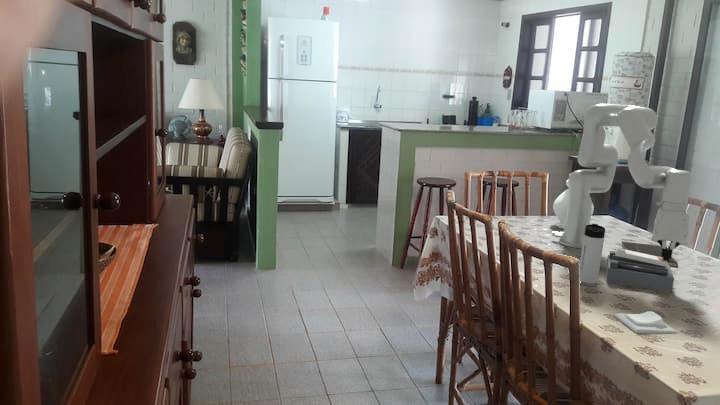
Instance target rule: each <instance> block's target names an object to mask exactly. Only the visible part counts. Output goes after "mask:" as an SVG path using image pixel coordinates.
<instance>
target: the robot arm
mask: <svg viewBox="0 0 720 405" xmlns="http://www.w3.org/2000/svg"><path fill="white" fill-rule="evenodd" d="M583 118H584V119H583V132H582V137H581V140H580V146H579V149H578V155H577V162H578V164H579V166H581V167H584V168H596V169H577V170H574V171H573V172H571V175H570V176H569V175H568V179H569V180H568V179H567V180H568V184H569V187H568V189H569V199H568V207H567V215H566V222H565V229H563V231H560V232H559V231H553V230H552V237H555V238H559V239H558V243H559V244H561V245H563V246H566V247H568V248H575V249H582V246H583V240H584V234H585V227H586V225H591V218H592V216H591V213H592V204H593V201H592V198H591V196H590V194H595V193H596V194H597V193H598V194H600V193H602V194H603V193H606V192H608V191H609V190H610V189H611V187H612V185H613V181H614V178H615V174H616V170H617V166H618V162H619V153H618V152H619V151H618V149H617V148H616V147H615V146H614V145H612V144H608V143H607V144H606V143H605V140H606V129H605V128H604V127H615V128H616V127H617V128H618V127H619V128H620V130H621V133H622V134H623V137H624V139H625V141H626V142H627V145H628V146H629V149H630V150H629V152H628V156H627V168H628V170H629V173H630V175H631V177H632V180H634V182H635V183H636V184H637V185H638V186H639V187H641V188H643V189H663V191H662V200H660V201H656V206H657V207H660V208H658V210H657V213H656V216H655V218H654V219H655V220H654V222H653V226H652V235H651V237H650V241H652V242H654V243H657V244H658V245H659V246H661V247H662V252H661V257H663V260H667V261H669V258H671V257H672V256H673V252H674V249H676V248H677V247H679V246H686V245H687V244H688V243H687V241H688V236H689V228H690V227H689V226H690V213H689V212H687V210H688V204H689V202H688V201H689V195H690V190H691V184H692V183H691V182H692V178H693V177H692V176H693V175H692V173H691V172H690V171H688V170H683V169H676V168H673V167H671V166H664V165H662V166H658V165H655V166H653V165H651V166H650V165H648V163H647V161H646V160H645V157H644V154H643V153H644V152H646V151H647V150H649V149H651V148H652V147H653V146H654V145H655V143H656V138H655V136H654V134H653V132H652V130H654V129H655V128H656V127H657V125H658V123H659V122H658V121H659V120H658V119H659V117H658V115H657V113H656V111H655V110H653V108H649V107H645V106H644V107H642V106H636V105H631V104H616V103H615V104H614V103H598V104H593V105H591V106H590V107H588V109H587V110H586V112H585V115H584V117H583ZM667 242H669V246H668V247H667ZM672 258H673V257H672Z"/></svg>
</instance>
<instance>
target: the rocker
mask: <svg viewBox="0 0 720 405" xmlns="http://www.w3.org/2000/svg"><path fill="white" fill-rule="evenodd" d="M614 252H615V254H616V256H620V257H624V258H629V259H633V260H638V261H642V262H647V263H651V264H656V265H660V266H665V267H666V266H667V263H668V262H667V260H663V257H659V256H653V255H648V254H644V253H639V252H635V251H630V250H625V249H624V248H623V247H619V246H618V247H616V248H615V250H614Z"/></svg>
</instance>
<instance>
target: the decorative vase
mask: <svg viewBox="0 0 720 405" xmlns="http://www.w3.org/2000/svg"><path fill="white" fill-rule="evenodd" d="M571 173H572V172H571ZM571 173H568V174H569V175H568V177H569V176H570V175H571ZM568 180H569V178H568V179H567V180H566V181H565V185H566V186H567V187H568V188H567V189H565V190H564V191H563V192H561V194H559V195H558V196H557V198H556V199H555V200H554V202H553V206H552V209H553V212H554V214H555V216H556V217H557V219H558V220H559V222H557V223H556V227H558V228H560V229H563V230H564V229H565V222H566V215H567V207H568V199H569V184H568ZM594 210H595V209H594V203H592V213H591V217H592V216H593V215H594Z"/></svg>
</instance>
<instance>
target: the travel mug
mask: <svg viewBox="0 0 720 405" xmlns="http://www.w3.org/2000/svg"><path fill="white" fill-rule="evenodd" d="M605 234H606V228H605V227H604V226H602V225H599V224H598V223H591V224H590V225H586V227H585V234H584V240H583V246H582V248H581V253H580V262H579V267H580V281H581V284H580V285H582V286H586V287H596V286H597V285H598V280H599V275H600V267H601V261H602V255H603V249H604V242H605Z"/></svg>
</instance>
